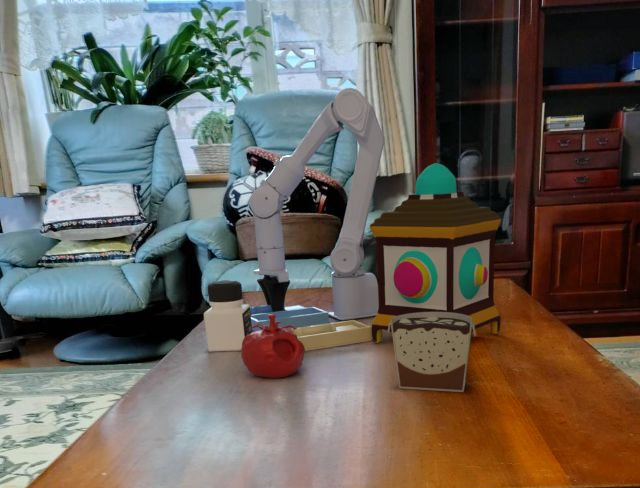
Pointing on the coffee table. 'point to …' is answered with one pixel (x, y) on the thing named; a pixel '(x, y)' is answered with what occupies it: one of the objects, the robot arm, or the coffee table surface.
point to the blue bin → (292, 318)
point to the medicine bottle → (226, 316)
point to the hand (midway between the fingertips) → (276, 311)
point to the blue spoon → (269, 309)
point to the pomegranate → (272, 351)
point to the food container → (432, 350)
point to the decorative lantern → (436, 254)
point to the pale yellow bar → (320, 329)
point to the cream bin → (337, 336)
